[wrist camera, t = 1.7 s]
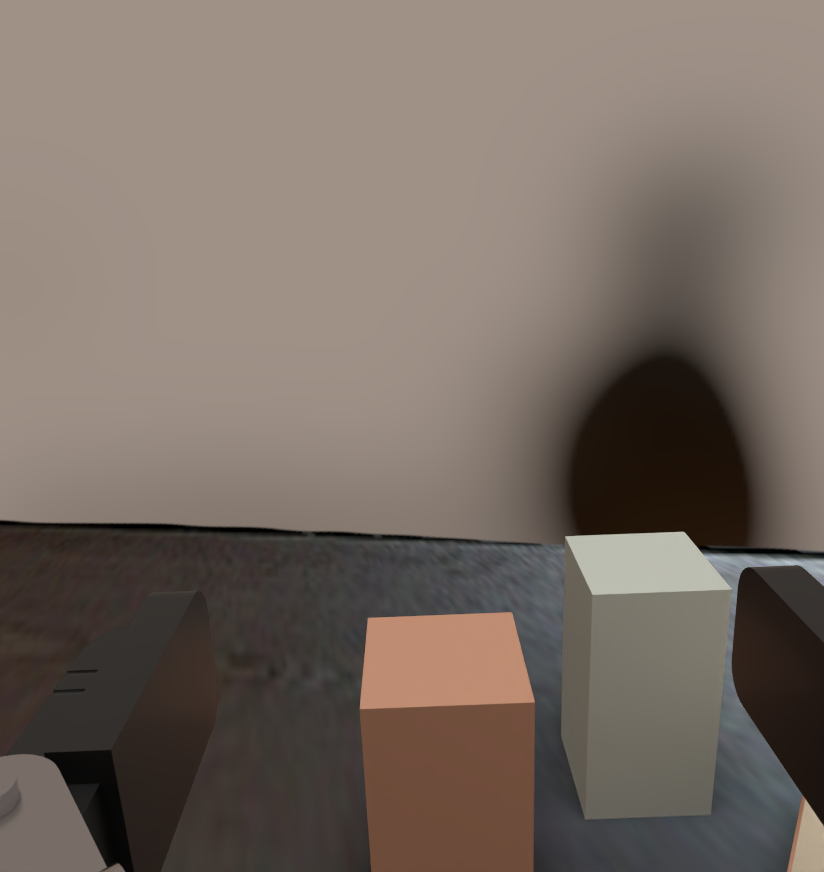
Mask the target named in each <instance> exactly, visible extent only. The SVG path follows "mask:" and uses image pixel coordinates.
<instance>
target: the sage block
mask: <svg viewBox="0 0 824 872" xmlns="http://www.w3.org/2000/svg"><path fill="white" fill-rule="evenodd" d="M731 593H732V589H731V588H730V587H729V585H728V584H727V583H726V582H725V581H724V579H723V578H722V577H721V576H720V575H719V573H718V572H717V571H716V570H715V569H714V567H713V566H712V565H711V564H710V563H709V561H708V560H707V559H706V558H705V557H704V555H703V554H702V553H701V552H700V551H699V549H698V548H697V547H696V546H695V545H694V543H693V542H692V541H691V540H690V538H689V537H688V536H687V535H686V534H685V533H684V532H669V533H642V534H618V535H617V534H616V535H591V536H566V537H565V571H564V618H563V666H562V713H561V737H562V741H563V744H564V748H565V751H566V755H567V758H568V762H569V765H570V769H571V772H572V776H573V779H574V783H575V786H576V790H577V793H578V797H579V800H580V804H581V807H582V811H583V814H584V818H585V820H588V819H615V818H642V817H669V816H695V815H711V809H712V798H713V787H714V776H715V766H716V755H717V744H718V733H719V722H720V712H721V701H722V690H723V679H724V668H725V658H726V647H727V636H728V625H729V615H730V604H731Z"/></svg>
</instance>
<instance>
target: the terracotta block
mask: <svg viewBox="0 0 824 872" xmlns="http://www.w3.org/2000/svg"><path fill="white" fill-rule="evenodd" d="M360 719H361V733H362V747H363V761H364V775H365V789H366V803H367V818H368V832H369V846H370V860H371V872H533V859H534V734H535V701H534V697H533V694H532V690H531V686H530V682H529V678H528V674H527V670H526V666H525V662H524V658H523V654H522V650H521V646H520V642H519V638H518V634H517V631H516V627H515V623H514V619H513V615H512V612H509V613H484V614H458V615H433V616H407V617H382V618H368V625H367V636H366V647H365V658H364V669H363V680H362V691H361V702H360Z"/></svg>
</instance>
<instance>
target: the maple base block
mask: <svg viewBox="0 0 824 872" xmlns="http://www.w3.org/2000/svg"><path fill="white" fill-rule="evenodd" d="M787 872H824V826H823V824H822V823H821V822H820V820H819V819H818V817H817V816H816V814H815V813H814V811H813V810H812V808H811V807H810V805H809V804H808V802H807V801H806V799H805V798H804V796H803V795H802V800H801V805H800V810H799V815H798V820H797V825H796V830H795V835H794V840H793V845H792V850H791V855H790V860H789V865H788V870H787Z"/></svg>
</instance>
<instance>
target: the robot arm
mask: <svg viewBox="0 0 824 872" xmlns="http://www.w3.org/2000/svg"><path fill="white" fill-rule="evenodd" d="M732 674H733V680H734V685H735V689H736V692H737V695H738V697H739V700H740V702H741V703H742V705H743V707H744V708H745V710H746V711H747V713H748V714H749V716H750V717H751V719H752V720H753V722H754V723H755V725H756V726H757V728H758V729H759V731H760V732H761V734H762V735H763V737H764V738H765V740H766V741H767V743H768V744H769V746H770V747H771V749H772V750H773V751H774V753H775V754H776V756H777V757H778V759H779V760H780V762H781V763H782V765H783V766H784V768H785V769H786V771H787V772H788V774H789V775H790V777H791V778H792V780H793V781H794V783H795V784H796V786H797V787H798V789H799V790H800V792H801V793H802V795H803V796H804V798H805V799H806V801H807V802H808V804H809V805H810V807H811V808H812V810H813V811H814V813H815V814H816V816H817V817H818V819H819V820H820V822H821V823H822V824H823V826H824V586H822V585H821V584H820V583H819V582H818V581H817V580H816V579H815V578H814V577H813V576H812V575H810V574H809V573H808V572H807V571H806V570H805V569H804V568H802V567H801V566H797V565H794V566H771V567H749V568H745V569H744V570H743V571H742V573H741V575H740V579H739V584H738V594H737V605H736V617H735V629H734V640H733V652H732ZM217 703H218V685H217V676H216V669H215V661H214V654H213V646H212V639H211V632H210V624H209V617H208V610H207V604H206V600H205V597H204V595H203V593H202V592H201V591H181V592H158V593H150V594H148V595H147V596H146V598H145V599H144V601H143V602H142V604H141V605H140V607H139V608H138V610H137V611H136V613H135V615H134V616H133V618H132V619H131V621H130V622H129V624H128V625H127V627H116V628H111V629H110V630H108V631H107V632H106V633H104V634H103V635H101V636H100V637H99V638H97V639H96V640H94V641H93V642H92V643H90V644H89V645H87V646H86V647H85V648H84V649H83V650H82V651H81V653H80V654H79V655H78V657H77V658H76V660H75V661H74V662H73V664H72V665H71V667H70V668H69V669H68V671H67V675H64V676H63V678H62V679H61V680H60V682H59V683H58V685H57V686H56V687H55V689H54V693H53V695H50V696H49V697H48V698H47V700H46V701H45V703H44V704H43V705H42V707H41V708H40V710H39V711H38V712H37V714H36V715H35V716H34V718H33V719H32V721H31V722H30V723H29V725H28V726H27V728H26V729H25V730H24V732H23V733H22V735H21V736H20V737H19V739H18V740H17V741H16V743H15V744H14V746H13V747H12V748H11V750H10V751H9V753H8V754H7V755H6V756H4V757H0V872H160V871H161V869H162V866H163V863H164V860H165V858H166V855H167V852H168V850H169V847H170V844H171V841H172V839H173V836H174V833H175V830H176V828H177V825H178V822H179V819H180V817H181V814H182V811H183V809H184V806H185V803H186V800H187V798H188V795H189V792H190V789H191V787H192V784H193V781H194V778H195V776H196V773H197V770H198V767H199V765H200V762H201V759H202V757H203V754H204V751H205V748H206V746H207V743H208V740H209V737H210V735H211V732H212V729H213V726H214V723H215V719H216V713H217Z"/></svg>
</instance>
